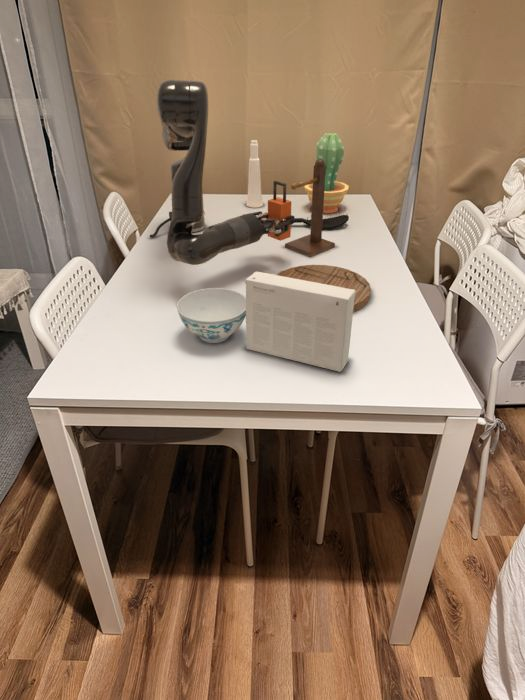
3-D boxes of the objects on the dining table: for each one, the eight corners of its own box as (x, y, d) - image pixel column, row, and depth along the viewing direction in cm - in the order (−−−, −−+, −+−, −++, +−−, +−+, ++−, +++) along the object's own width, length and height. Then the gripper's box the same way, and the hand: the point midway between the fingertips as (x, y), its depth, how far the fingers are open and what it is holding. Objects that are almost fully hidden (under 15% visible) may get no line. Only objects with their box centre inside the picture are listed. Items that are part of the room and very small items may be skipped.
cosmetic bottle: (242, 205, 193) (241, 140, 181) (253, 201, 196) (253, 137, 185) (255, 208, 189) (255, 143, 177) (266, 204, 193) (266, 140, 181)
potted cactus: (352, 205, 192) (359, 131, 179) (339, 218, 181) (346, 140, 167) (311, 200, 198) (315, 127, 184) (296, 212, 186) (299, 136, 172)
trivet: (293, 264, 149) (293, 258, 148) (381, 282, 140) (382, 275, 139) (252, 302, 130) (252, 295, 129) (351, 325, 121) (352, 318, 120)
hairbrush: (270, 213, 176) (346, 209, 176) (271, 224, 178) (346, 220, 178) (271, 222, 170) (350, 217, 169) (272, 233, 172) (350, 229, 172)
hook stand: (302, 260, 152) (306, 169, 138) (277, 250, 158) (278, 162, 144) (334, 246, 160) (341, 160, 146) (309, 237, 166) (313, 153, 152)
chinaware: (222, 361, 109) (220, 328, 105) (165, 340, 116) (161, 309, 112) (261, 329, 120) (261, 298, 116) (207, 312, 126) (205, 282, 122)
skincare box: (349, 359, 110) (357, 289, 101) (341, 373, 106) (348, 301, 97) (256, 336, 117) (255, 269, 108) (244, 348, 113) (243, 280, 104)
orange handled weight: (280, 240, 146) (281, 185, 138) (267, 236, 149) (267, 181, 141) (290, 237, 148) (292, 182, 140) (277, 232, 151) (278, 178, 143)
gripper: (259, 224, 131) (306, 209, 141) (221, 210, 140) (267, 197, 150) (259, 253, 135) (304, 236, 145) (222, 238, 144) (267, 223, 154)
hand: (285, 216), depth 147 cm, fingers closed on orange handled weight, 5 cm apart
